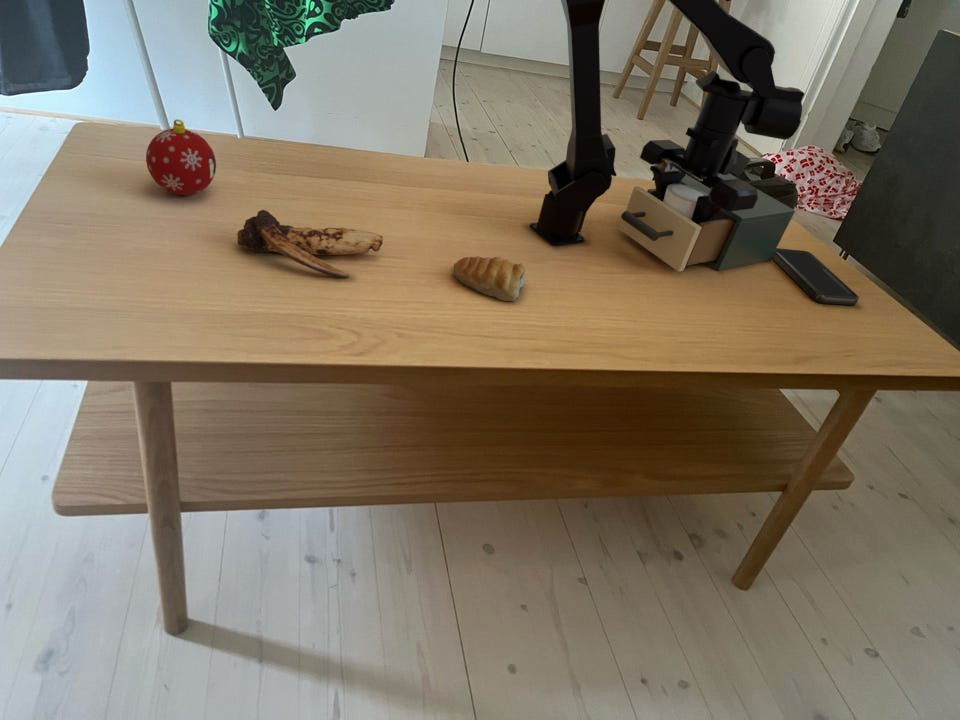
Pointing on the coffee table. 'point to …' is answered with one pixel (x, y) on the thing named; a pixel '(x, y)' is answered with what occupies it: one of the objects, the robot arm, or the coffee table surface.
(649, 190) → the drawer
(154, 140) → the christmas ornament
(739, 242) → the cabinet
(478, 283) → the pastry
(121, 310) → the coffee table surface
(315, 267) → the bone fish hook
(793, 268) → the phone
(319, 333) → the coffee table surface
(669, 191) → the white cylinder
